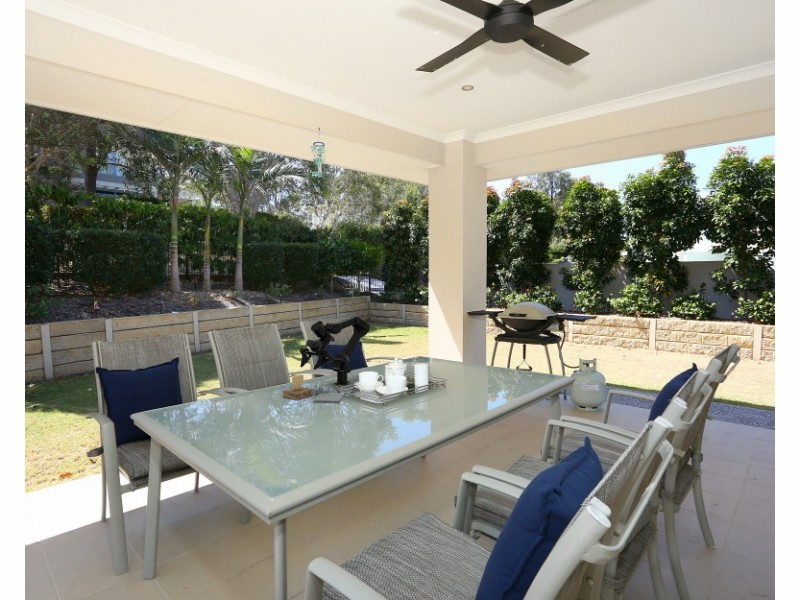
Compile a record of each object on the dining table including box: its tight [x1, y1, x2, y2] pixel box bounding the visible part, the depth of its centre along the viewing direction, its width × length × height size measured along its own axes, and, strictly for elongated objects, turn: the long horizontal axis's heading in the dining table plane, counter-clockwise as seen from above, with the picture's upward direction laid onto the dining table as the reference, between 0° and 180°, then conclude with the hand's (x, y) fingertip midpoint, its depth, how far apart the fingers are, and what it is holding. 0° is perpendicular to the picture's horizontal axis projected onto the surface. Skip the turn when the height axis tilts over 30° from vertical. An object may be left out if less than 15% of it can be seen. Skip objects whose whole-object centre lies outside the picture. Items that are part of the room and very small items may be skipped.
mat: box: [313, 392, 345, 404], centre depth 218 cm, size 12×12×1 cm
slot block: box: [282, 386, 314, 401], centre depth 223 cm, size 10×10×3 cm
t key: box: [291, 374, 305, 391], centre depth 223 cm, size 5×2×10 cm, turn 146°
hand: (307, 368), depth 227 cm, fingers open, 9 cm apart
